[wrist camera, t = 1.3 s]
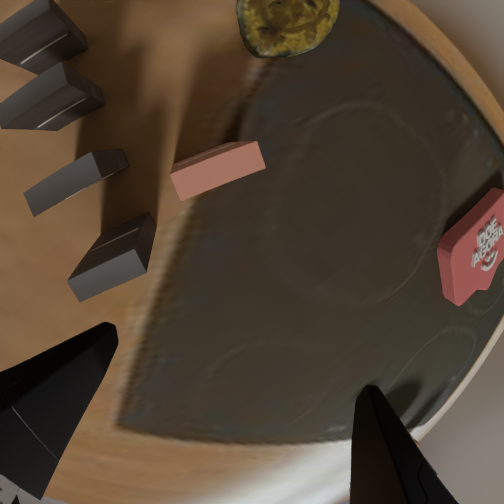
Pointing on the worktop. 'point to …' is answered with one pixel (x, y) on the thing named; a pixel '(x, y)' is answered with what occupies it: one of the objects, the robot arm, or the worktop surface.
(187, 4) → the worktop surface
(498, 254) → the plaque
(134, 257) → the domino
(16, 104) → the domino
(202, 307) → the worktop surface
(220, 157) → the domino
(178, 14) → the worktop surface
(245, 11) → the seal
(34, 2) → the domino
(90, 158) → the domino
